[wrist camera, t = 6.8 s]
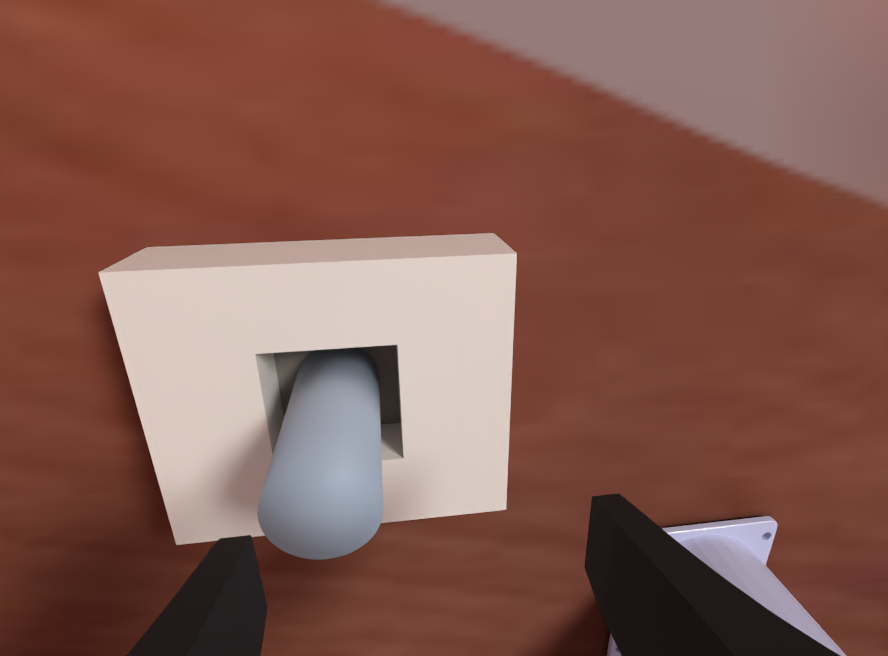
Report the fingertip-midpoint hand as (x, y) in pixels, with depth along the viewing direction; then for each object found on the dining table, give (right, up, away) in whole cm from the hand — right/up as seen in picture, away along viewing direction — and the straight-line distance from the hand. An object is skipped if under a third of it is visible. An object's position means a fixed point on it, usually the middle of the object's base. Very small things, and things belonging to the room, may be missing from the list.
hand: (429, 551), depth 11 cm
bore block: (-4, +3, +9) cm, 10 cm away
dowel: (-4, +3, +8) cm, 9 cm away
